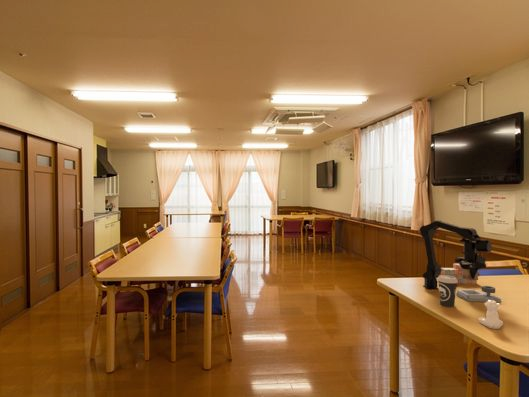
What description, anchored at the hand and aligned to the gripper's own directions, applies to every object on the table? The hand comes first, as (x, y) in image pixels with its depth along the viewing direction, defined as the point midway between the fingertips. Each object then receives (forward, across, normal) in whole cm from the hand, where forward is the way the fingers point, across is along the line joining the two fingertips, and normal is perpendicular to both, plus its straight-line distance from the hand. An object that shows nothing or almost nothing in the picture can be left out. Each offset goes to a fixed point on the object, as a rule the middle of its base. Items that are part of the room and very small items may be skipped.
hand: (470, 277), depth 183 cm
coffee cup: (+12, -12, +21) cm, 27 cm away
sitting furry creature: (+12, -40, +17) cm, 45 cm away
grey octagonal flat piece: (+8, -1, -9) cm, 12 cm away
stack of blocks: (+11, +32, -14) cm, 37 cm away
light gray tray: (+12, -1, -3) cm, 12 cm away
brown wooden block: (+1, 0, 0) cm, 1 cm away
